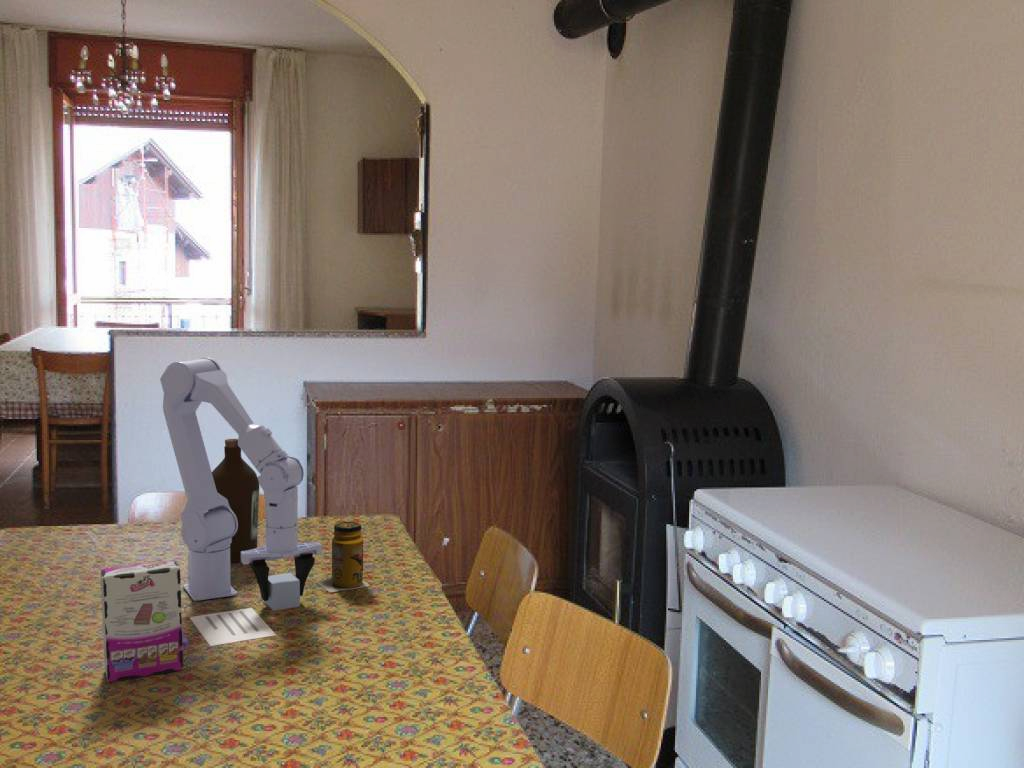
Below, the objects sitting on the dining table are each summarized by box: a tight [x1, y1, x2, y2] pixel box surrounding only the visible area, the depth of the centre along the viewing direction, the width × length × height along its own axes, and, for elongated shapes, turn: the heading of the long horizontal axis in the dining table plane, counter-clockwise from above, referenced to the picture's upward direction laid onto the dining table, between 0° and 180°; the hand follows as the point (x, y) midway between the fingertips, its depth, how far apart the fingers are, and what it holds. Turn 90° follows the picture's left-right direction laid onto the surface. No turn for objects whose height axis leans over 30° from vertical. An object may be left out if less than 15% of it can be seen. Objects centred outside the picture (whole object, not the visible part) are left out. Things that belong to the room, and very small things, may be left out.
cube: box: [264, 572, 301, 612], centre depth 190 cm, size 5×5×5 cm
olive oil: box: [211, 438, 260, 564], centre depth 217 cm, size 11×11×25 cm
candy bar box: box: [100, 559, 184, 683], centre depth 158 cm, size 11×5×16 cm, turn 117°
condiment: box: [315, 521, 371, 594], centre depth 201 cm, size 7×8×12 cm
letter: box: [189, 607, 277, 647], centre depth 179 cm, size 15×11×1 cm
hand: (282, 596), depth 190 cm, fingers open, 6 cm apart
